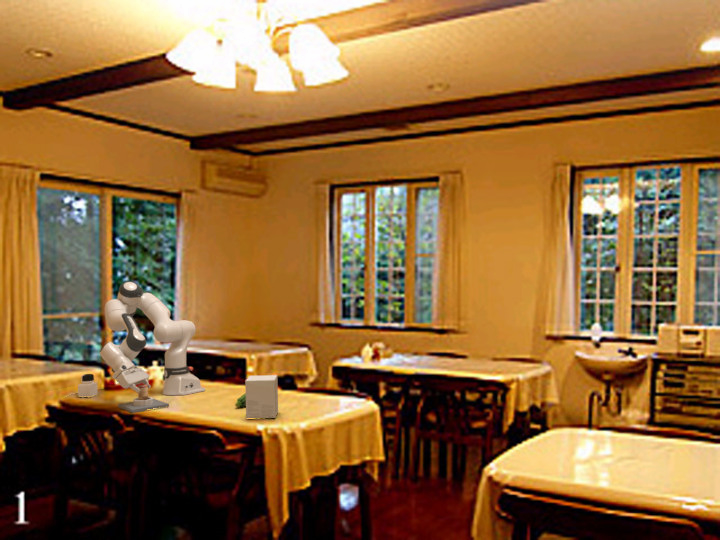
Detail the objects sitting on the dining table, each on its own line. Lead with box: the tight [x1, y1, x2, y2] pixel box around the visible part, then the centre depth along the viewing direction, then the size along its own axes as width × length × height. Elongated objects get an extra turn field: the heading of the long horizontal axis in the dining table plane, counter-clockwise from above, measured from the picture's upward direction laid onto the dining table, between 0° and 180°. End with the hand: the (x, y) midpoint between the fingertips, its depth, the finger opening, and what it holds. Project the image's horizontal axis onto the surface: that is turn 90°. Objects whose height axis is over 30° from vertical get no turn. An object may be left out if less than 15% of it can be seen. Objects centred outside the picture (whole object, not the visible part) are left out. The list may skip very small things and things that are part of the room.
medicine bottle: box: [77, 373, 98, 397], centre depth 338 cm, size 7×7×12 cm
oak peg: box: [137, 384, 149, 400], centre depth 311 cm, size 4×4×9 cm
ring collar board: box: [117, 396, 170, 414], centre depth 311 cm, size 18×18×4 cm
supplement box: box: [244, 374, 279, 419], centre depth 288 cm, size 13×13×18 cm
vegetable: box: [234, 392, 246, 408], centre depth 312 cm, size 7×7×20 cm
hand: (144, 389), depth 310 cm, fingers open, 8 cm apart
